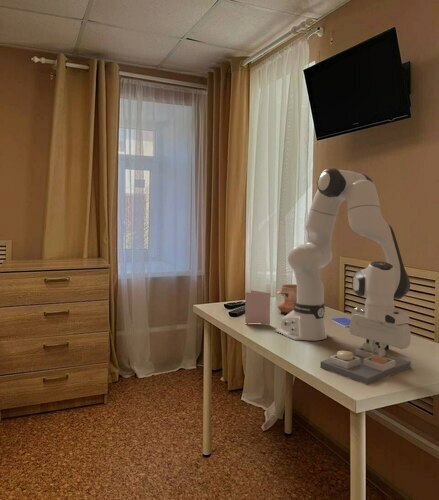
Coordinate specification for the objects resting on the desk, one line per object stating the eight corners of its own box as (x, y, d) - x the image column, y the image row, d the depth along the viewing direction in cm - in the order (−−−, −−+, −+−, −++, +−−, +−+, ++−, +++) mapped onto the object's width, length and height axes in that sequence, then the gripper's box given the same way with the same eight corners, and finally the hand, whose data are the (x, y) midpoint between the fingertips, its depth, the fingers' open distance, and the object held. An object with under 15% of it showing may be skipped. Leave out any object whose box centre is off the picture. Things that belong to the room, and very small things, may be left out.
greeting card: (271, 324, 196) (271, 293, 195) (261, 328, 191) (261, 295, 189) (251, 320, 204) (252, 289, 203) (241, 323, 199) (242, 292, 197)
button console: (320, 367, 141) (320, 355, 141) (363, 353, 156) (364, 342, 155) (367, 384, 127) (367, 371, 127) (410, 367, 141) (410, 355, 141)
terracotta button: (367, 364, 138) (367, 358, 137) (376, 361, 141) (376, 355, 140) (381, 368, 134) (381, 362, 133) (390, 365, 137) (390, 359, 136)
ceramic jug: (279, 316, 212) (280, 288, 211) (273, 309, 227) (273, 283, 225) (314, 316, 214) (315, 288, 213) (305, 309, 229) (306, 283, 227)
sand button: (334, 358, 140) (334, 352, 140) (343, 355, 143) (343, 349, 143) (346, 362, 136) (346, 356, 136) (356, 359, 139) (356, 353, 139)
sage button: (359, 350, 148) (359, 344, 148) (368, 347, 151) (368, 342, 151) (372, 354, 144) (372, 348, 144) (380, 351, 147) (381, 345, 147)
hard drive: (360, 323, 194) (346, 317, 206) (344, 324, 192) (331, 318, 204) (360, 327, 195) (346, 320, 207) (344, 328, 192) (330, 321, 204)
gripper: (346, 307, 142) (344, 347, 144) (403, 321, 126) (400, 366, 127) (357, 305, 146) (356, 344, 147) (414, 318, 129) (412, 361, 131)
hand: (377, 354), depth 137 cm, fingers closed
